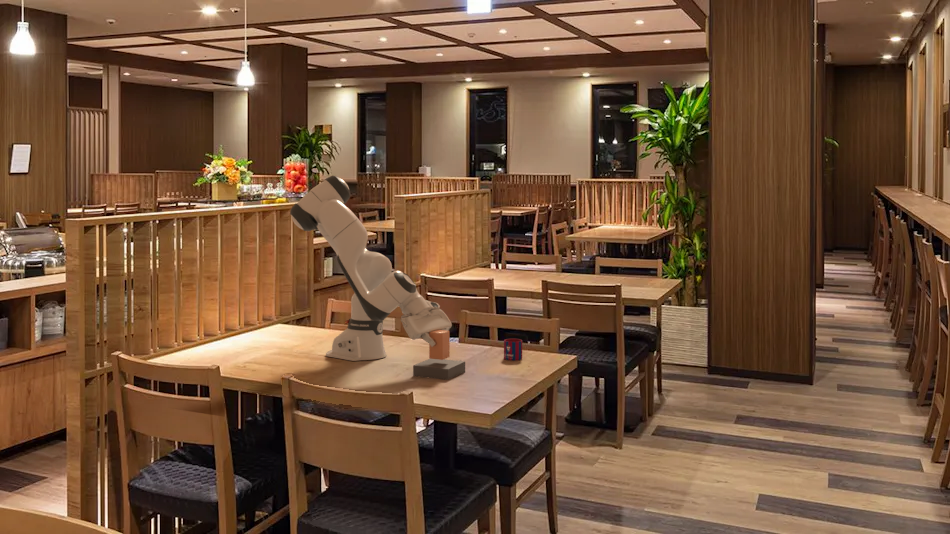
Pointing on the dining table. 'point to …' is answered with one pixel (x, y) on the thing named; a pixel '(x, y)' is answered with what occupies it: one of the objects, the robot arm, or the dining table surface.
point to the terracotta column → (440, 345)
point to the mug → (513, 349)
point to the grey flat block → (439, 368)
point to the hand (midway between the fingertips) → (440, 343)
